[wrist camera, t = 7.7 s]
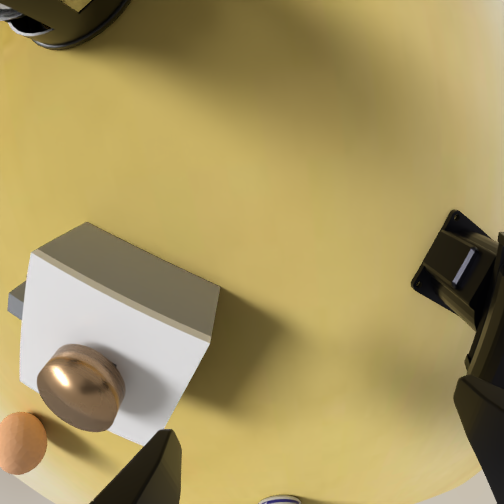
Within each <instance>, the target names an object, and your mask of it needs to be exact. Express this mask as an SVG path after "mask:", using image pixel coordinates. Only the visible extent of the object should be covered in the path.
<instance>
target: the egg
mask: <svg viewBox="0 0 504 504" xmlns="http://www.w3.org/2000/svg"><path fill="white" fill-rule="evenodd" d="M46 448H47V435H46V432H45V429H44V427H43V424H42V423H41V422H40V421H39V419H38V418H37V417H35V416H34V415H32V414H30V413H26V412H17V413H12V414H10V415H8V416H7V417H6V418H4V419H3V421H2V422H1V423H0V467H1V468H2V469H3V470H4V471H6V472H8V473H10V474H15V475H20V474H24V473H27V472H29V471H31V470H32V469H34V468H35V467H36V466H37V465H38V464H39V463H40V462H41V460H42V459H43V457H44V455H45V452H46Z"/></svg>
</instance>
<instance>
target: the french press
mask: <svg viewBox="0 0 504 504" xmlns="http://www.w3.org/2000/svg"><path fill="white" fill-rule="evenodd" d="M130 1H131V0H91V1H90V3H88V4H87V5H86V6H85V7H84V8H83V9H82V10H80V11H79V12H77V11H75V10H74V9H72V8H71V7H69V6H68V5H67V4H65V3H64V2H62V1H61V0H0V21H5V22H8V24H9V25H10V27H11V29H12V30H14V31H15V32H16V33H17V34H20V35H23V36H25V37H28V38H30V39H32V40H33V41H34V42H35V43H36V44H37V45H39V46H42V47H44V48H47V49H55V50H59V49H66V48H70V47H74V46H77V45H80V44H82V43H84V42H86V41H88V40H90V39H92V38H93V37H95V36H96V35H98V34H99V33H101V32H102V31H103V30H105V29H106V28H107V27H108V26H109V25H111V24H112V23H113V22H114V21H115V20H116V19H117V18H118V17H119V16H120V14H121V13H122V12H123V11H124V10H125V8H126V7H127V5H128V4H129V3H130ZM42 23H43V24H45V25H47V26H49V27H51V28H52V29H49V30H47V29H46V28H45V27H44V26H43V24H42Z"/></svg>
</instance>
